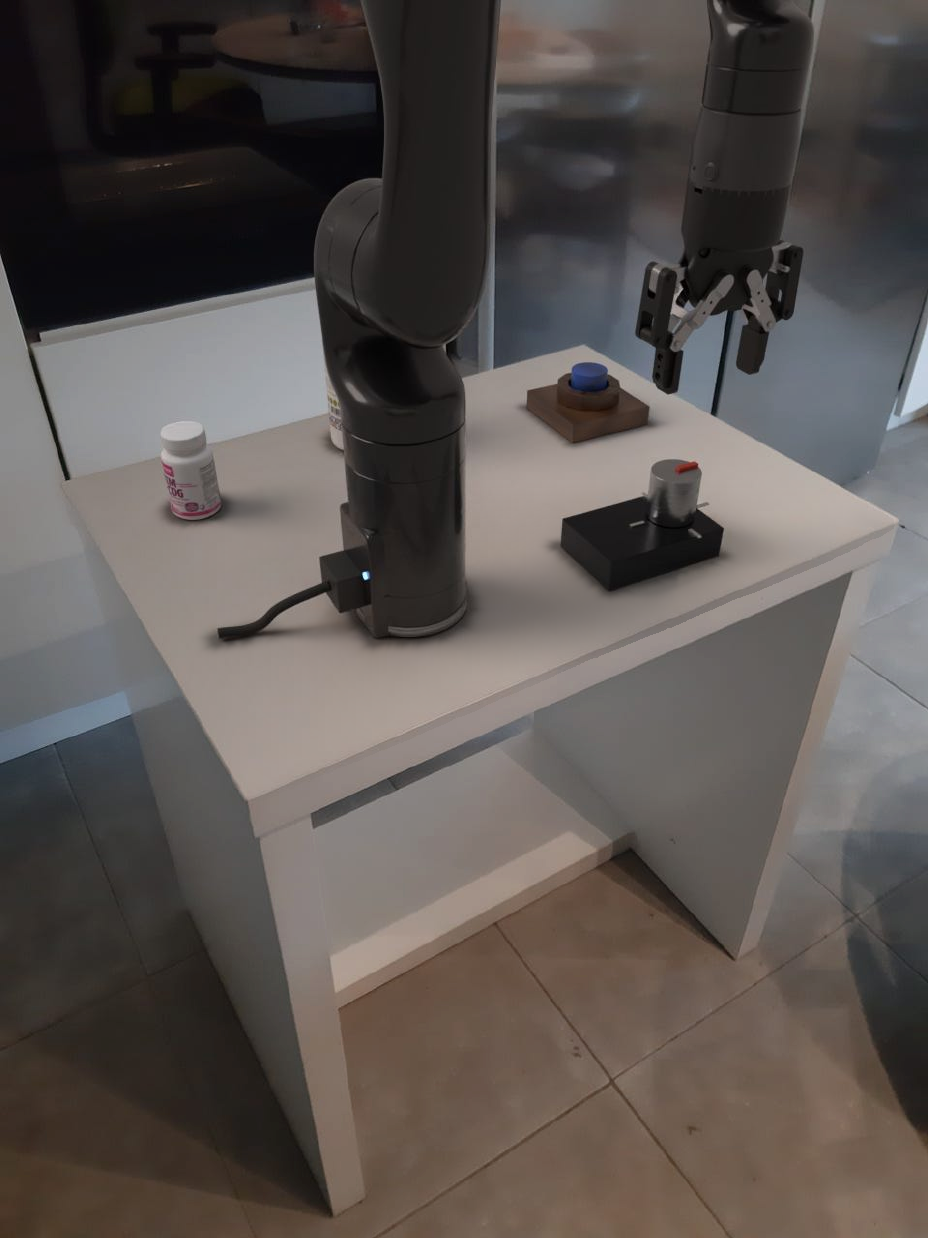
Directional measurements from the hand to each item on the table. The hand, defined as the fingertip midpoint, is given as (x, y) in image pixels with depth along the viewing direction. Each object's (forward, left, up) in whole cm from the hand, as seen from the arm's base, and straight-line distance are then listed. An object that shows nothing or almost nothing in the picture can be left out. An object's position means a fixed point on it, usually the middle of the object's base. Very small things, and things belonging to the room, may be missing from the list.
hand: (706, 380), depth 82 cm
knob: (-2, 0, -12) cm, 13 cm away
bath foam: (-19, +32, -16) cm, 40 cm away
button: (+6, +26, -12) cm, 29 cm away
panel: (-5, 0, -15) cm, 16 cm away
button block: (+6, +26, -15) cm, 31 cm away
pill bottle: (-39, +26, -16) cm, 49 cm away
